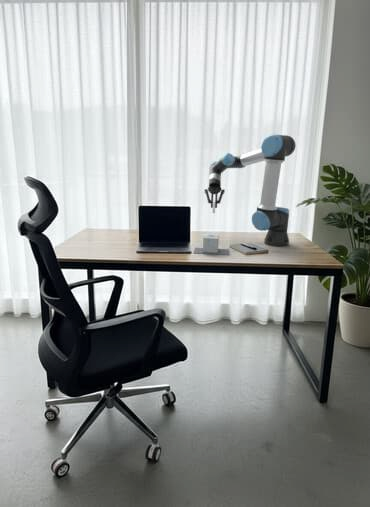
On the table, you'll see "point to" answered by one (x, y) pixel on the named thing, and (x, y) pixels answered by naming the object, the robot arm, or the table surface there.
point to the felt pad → (220, 252)
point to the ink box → (210, 243)
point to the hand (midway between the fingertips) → (213, 211)
